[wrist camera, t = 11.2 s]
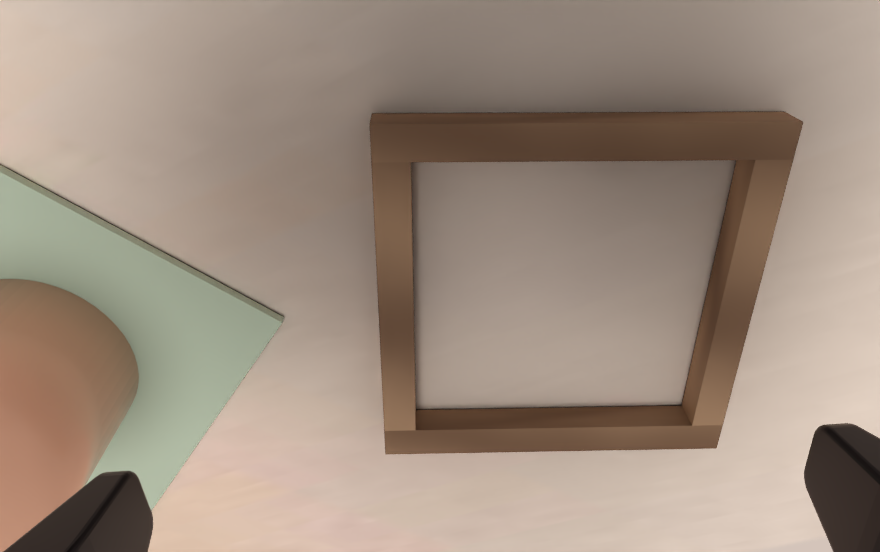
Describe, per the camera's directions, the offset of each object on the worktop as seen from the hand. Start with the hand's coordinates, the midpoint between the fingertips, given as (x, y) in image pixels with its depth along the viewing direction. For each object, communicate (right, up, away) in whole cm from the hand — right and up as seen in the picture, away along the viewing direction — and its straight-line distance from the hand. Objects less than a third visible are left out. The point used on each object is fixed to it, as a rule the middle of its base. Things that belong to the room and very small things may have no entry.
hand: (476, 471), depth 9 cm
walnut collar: (+3, +2, +12) cm, 12 cm away
